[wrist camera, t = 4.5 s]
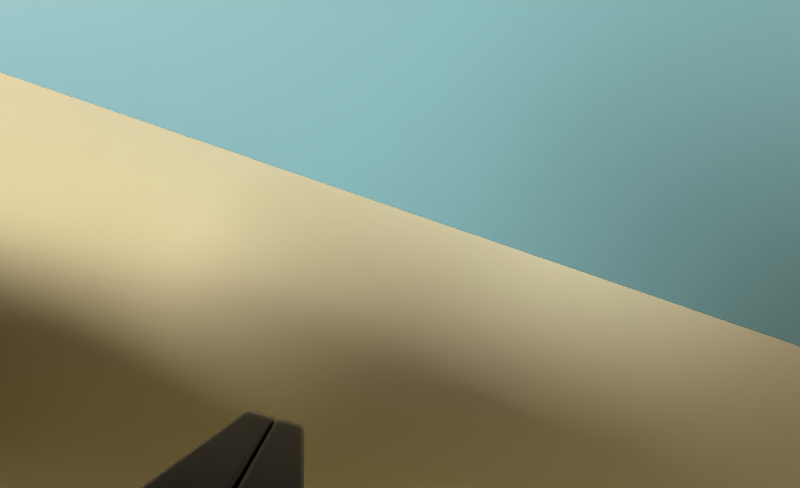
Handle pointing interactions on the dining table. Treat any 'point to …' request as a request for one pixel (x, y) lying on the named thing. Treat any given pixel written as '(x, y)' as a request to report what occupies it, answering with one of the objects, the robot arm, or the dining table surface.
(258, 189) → the dining table surface
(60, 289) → the dining table surface
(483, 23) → the teal block
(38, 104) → the dining table surface
